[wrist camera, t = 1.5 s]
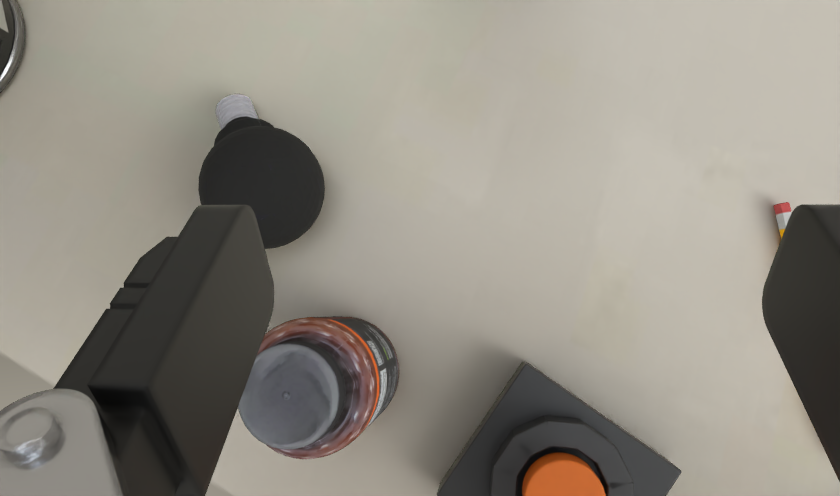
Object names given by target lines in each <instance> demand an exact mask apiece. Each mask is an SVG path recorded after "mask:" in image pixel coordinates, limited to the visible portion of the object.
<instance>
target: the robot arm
mask: <svg viewBox="0 0 840 496" xmlns="http://www.w3.org/2000/svg"><path fill="white" fill-rule="evenodd" d="M24 43H25V26H24V20H23V16H22V12H21V10H20V7H19V5H18V3H17V1H16V0H0V92H1V91H2V90H3V89H4V88H5V87H6V86H7V84H8V83H9V82H10V80H11V79H12V77H13V76H14V74H15V72H16V70H17V68H18V66H19V63H20V60H21V57H22V54H23V50H24ZM273 305H274V284H273V278H272V274H271V271H270V267H269V263H268V260H267V256H266V252H265V249H264V245H263V241H262V238H261V234H260V230H259V227H258V223H257V219H256V216H255V213H254V211H253V209H252V208H251V207H250V206H249V205H200V206H198V207H197V208H196V209H195V210H194V212H193V213H192V215H191V217H190V218H189V220H188V222H187V223H186V225H185V226H184V228H183V230H182V231H181V233H180V235H179V236H178V237H166V238H165V239H164V240H162V241H161V242H160V243H159V244H157V245H156V246H155V247H154V248H152V249H151V250H150V251H148V252H147V253H146V254H145V255H143V256H142V257H141V258H140V259H139V260H138V262H137V264H136V265H135V267H134V268H133V270H132V271H131V273H130V274H129V276H128V277H127V279H126V280H125V282H124V288H120V289H119V291H118V292H117V294H116V295H115V297H114V298H113V300H112V301H111V303H110V309H106V310H105V312H104V313H103V315H102V316H101V318H100V319H99V321H98V322H97V324H96V325H95V327H94V328H93V330H92V331H91V333H90V334H89V336H88V337H87V339H86V340H85V342H84V343H83V345H82V346H81V348H80V349H79V351H78V352H77V354H76V355H75V357H74V359H73V360H72V362H71V363H70V365H69V366H68V368H67V369H66V371H65V372H64V374H63V375H62V377H61V378H60V380H59V381H58V383H57V384H56V386H55V387H54V388H53V389H51V390H45V391H41V392H37V393H34V394H32V395H29V396H26V397H24V398H22V399H20V400H17V401H15V402H13V403H12V404H10V405H9V406H7V407H5V408H4V409H3V410H1V411H0V496H205V494H206V491H207V489H208V486H209V483H210V481H211V478H212V475H213V473H214V470H215V467H216V464H217V462H218V459H219V456H220V454H221V451H222V448H223V446H224V443H225V440H226V438H227V435H228V432H229V429H230V427H231V424H232V421H233V419H234V416H235V413H236V411H237V408H238V405H239V402H240V400H241V397H242V394H243V392H244V389H245V386H246V384H247V381H248V378H249V375H250V373H251V370H252V367H253V365H254V362H255V359H256V357H257V354H258V351H259V349H260V346H261V343H262V340H263V338H264V335H265V332H266V330H267V327H268V324H269V322H270V319H271V316H272V312H273ZM762 309H763V316H764V320H765V324H766V326H767V329H768V331H769V333H770V335H771V337H772V339H773V342H774V344H775V346H776V348H777V350H778V352H779V354H780V356H781V359H782V361H783V363H784V365H785V367H786V369H787V371H788V373H789V375H790V378H791V380H792V382H793V384H794V386H795V388H796V390H797V392H798V395H799V397H800V399H801V401H802V403H803V405H804V407H805V409H806V411H807V414H808V416H809V418H810V420H811V422H812V424H813V426H814V428H815V431H816V433H817V435H818V437H819V439H820V441H821V443H822V445H823V447H824V450H825V452H826V454H827V456H828V458H829V460H830V462H831V464H832V467H833V469H834V471H835V473H836V475H837V477H838V479H839V481H840V205H800V206H798V207H796V208H795V209H794V211H793V212H792V214H791V215H790V218H789V220H788V223H787V225H786V228H785V231H784V233H783V236H782V239H781V242H780V244H779V247H778V250H777V252H776V255H775V258H774V260H773V263H772V266H771V269H770V271H769V274H768V277H767V279H766V282H765V285H764V289H763V296H762Z"/></svg>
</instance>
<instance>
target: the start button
mask: <svg viewBox="0 0 840 496" xmlns="http://www.w3.org/2000/svg"><path fill="white" fill-rule="evenodd" d="M522 496H606V495H605V491H604V488H603V486H602V483H601V482H600V480H599V478H598V477H597V476H596V474H595V473H594V471H593V470H592V469H591V467H590V466H589V465H588V464H587V463H586V462H584V461H583V460H582V459H580V458H579V457H577V456H575V455H572V454H569V453H563V452H556V453H550V454H547V455H544V456H542V457H540V458H539V459H537V460H536V461H535V462H534V463H533V464H532V465H531V466H530V467H529V469H528V470H527V472H526V474H525V476H524V480H523V485H522Z"/></svg>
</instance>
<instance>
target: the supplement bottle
mask: <svg viewBox="0 0 840 496" xmlns="http://www.w3.org/2000/svg"><path fill="white" fill-rule="evenodd" d="M398 378H399V363H398V359H397V355H396V352H395V349H394V347H393V346H392V343H391V342H390V340H389V339H388V338H387V336H386V335H385V334H384V333H383V332H382V331H381V330H380V329H379V328H377V327H376V326H375V325H373V324H371V323H369V322H367V321H364V320H362V319H358V318H352V317H307V318H299V319H294V320H291V321H287V322H285V323H283V324H281V325H279V326H277V327H275V328H273V329H271V330H270V331H269V332H267V333H266V334H265V335H264V338H263V340H262V343H261V346H260V349H259V351H258V354H257V357H256V359H255V362H254V365H253V367H252V370H251V373H250V375H249V378H248V381H247V384H246V386H245V389H244V392H243V394H242V397H241V400H240V402H239V405H238V409H239V412H240V415H241V418H242V420H243V422H244V424H245V426H246V427H247V429H248V430H249V431H250V432H251V434H252V435H253V436H254V437H256V438H257V439H258V440H259V441H261V442H262V443H264V444H266V445H267V446H268V447H270V448H271V449H273V450H274V451H276V452H278V453H280V454H283V455H285V456H289V457H292V458H299V459H314V458H319V457H324V456H328V455H331V454H332V453H335V452H337V451H339V450H341V449H343V448H344V447H346V446H347V445H349V444H350V443H351V442H352V441H353V440H355V439H356V438H357V437H358V436H359V435H360V434H361V433H362V432H363V431H364V430H365V429H366V428H367V427H368V426H369V425H370V424H371V423H372V422H373V421H374V420H375V419H376V418H377V417H378V416H379V415H380V414H381V413H382V412H383V411H384V410H385V409H386V407H387V406H388V405H389V403H390V401H391V399H392V397H393V396H394V393H395V391H396V388H397V384H398Z"/></svg>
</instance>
